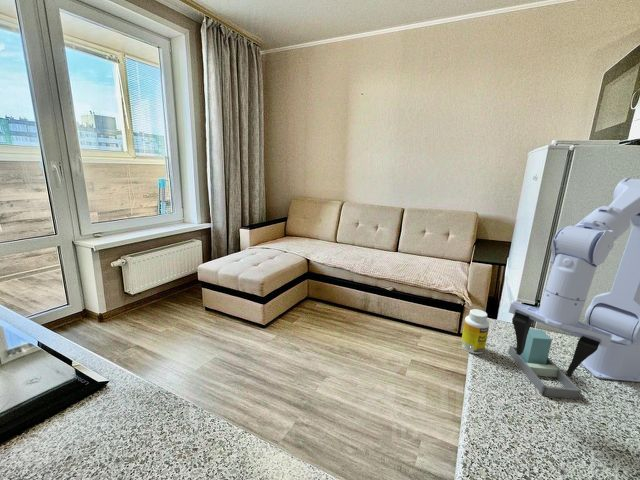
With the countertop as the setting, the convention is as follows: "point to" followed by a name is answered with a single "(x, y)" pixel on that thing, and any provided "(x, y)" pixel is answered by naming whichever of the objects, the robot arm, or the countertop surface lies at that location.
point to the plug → (536, 347)
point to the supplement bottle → (475, 332)
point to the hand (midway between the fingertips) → (542, 363)
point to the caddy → (546, 370)
